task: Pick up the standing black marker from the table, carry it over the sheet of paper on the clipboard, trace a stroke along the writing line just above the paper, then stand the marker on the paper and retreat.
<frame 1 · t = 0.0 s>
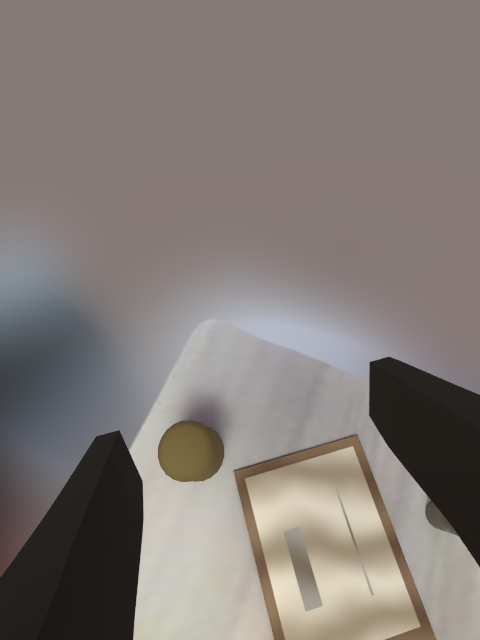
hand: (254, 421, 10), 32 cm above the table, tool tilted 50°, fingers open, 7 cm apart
clipboard: (327, 551, 36), on the table
cork: (198, 452, 39), on the table
marker: (438, 514, 37), on the table
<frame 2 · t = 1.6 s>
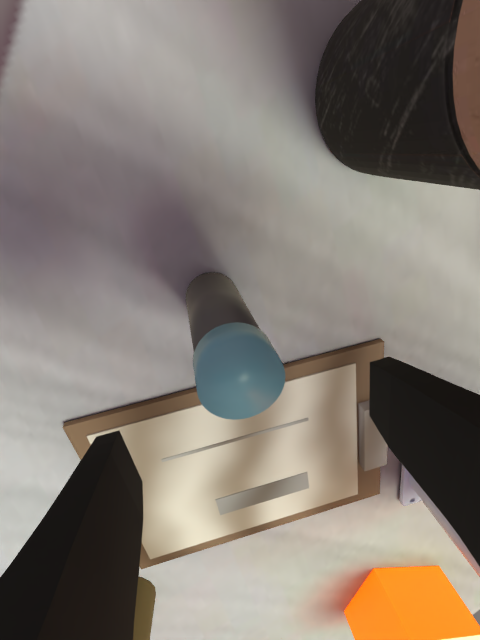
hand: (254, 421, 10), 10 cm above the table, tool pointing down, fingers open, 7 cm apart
clipboard: (249, 462, 24), on the table
cork: (118, 595, 28), on the table
orange juice: (390, 586, 37), on the table
travel mug: (383, 92, 16), on the table
marker: (211, 297, 18), on the table
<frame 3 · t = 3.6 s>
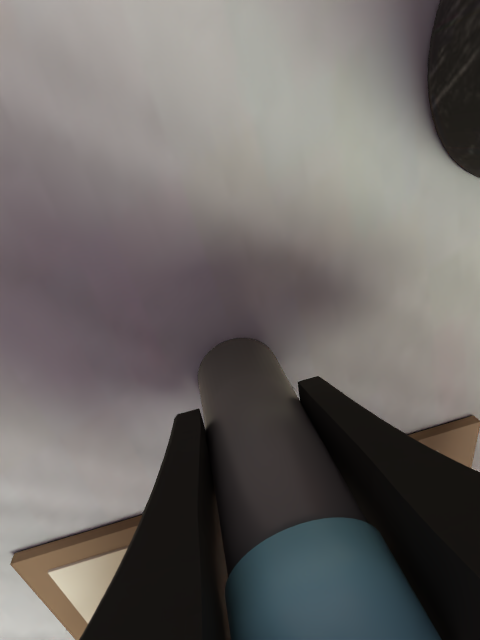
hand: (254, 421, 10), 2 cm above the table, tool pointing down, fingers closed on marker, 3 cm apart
clipboard: (280, 574, 18), on the table
marker: (238, 373, 12), on the table, touching gripper
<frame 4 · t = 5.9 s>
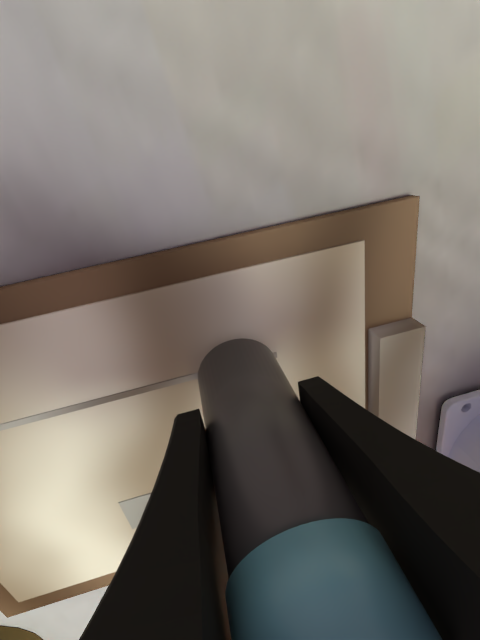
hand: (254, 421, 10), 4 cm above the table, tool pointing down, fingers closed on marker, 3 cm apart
clipboard: (176, 436, 14), on the table
marker: (238, 374, 12), point 1 cm above the table, touching gripper
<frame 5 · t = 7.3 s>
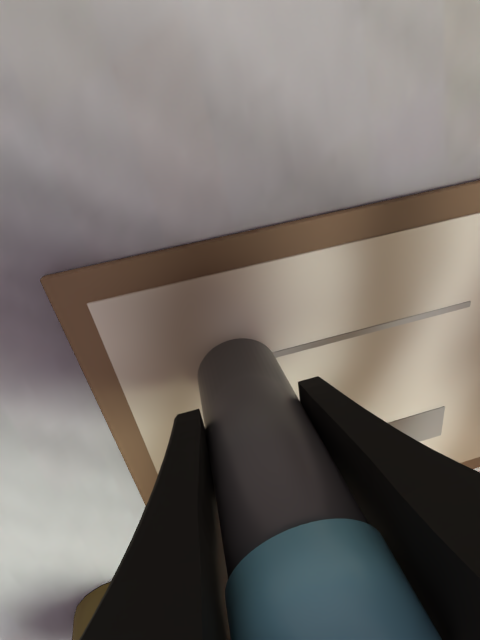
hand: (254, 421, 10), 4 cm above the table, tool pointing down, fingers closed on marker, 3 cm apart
clipboard: (357, 386, 15), on the table
cork: (135, 604, 18), on the table
marker: (238, 374, 12), point 1 cm above the table, touching gripper
when the fingers open (3 cm above the table, at t = 8.4 s): marker stays where it is, resting on clipboard.
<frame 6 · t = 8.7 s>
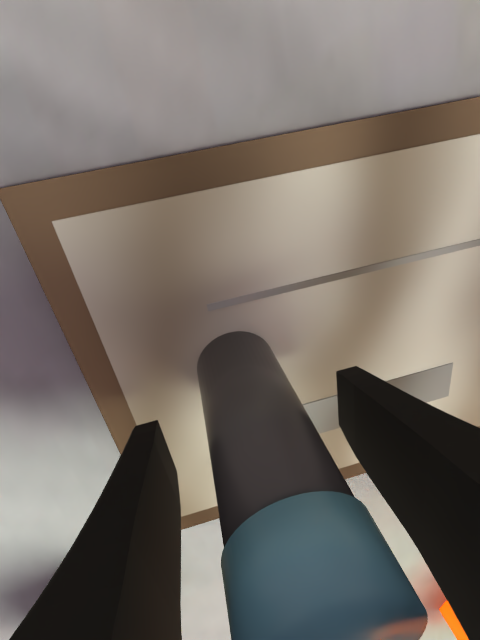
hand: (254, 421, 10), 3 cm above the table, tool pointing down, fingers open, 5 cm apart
clipboard: (357, 337, 13), on the table
marker: (236, 366, 12), point 1 cm above the table, touching clipboard
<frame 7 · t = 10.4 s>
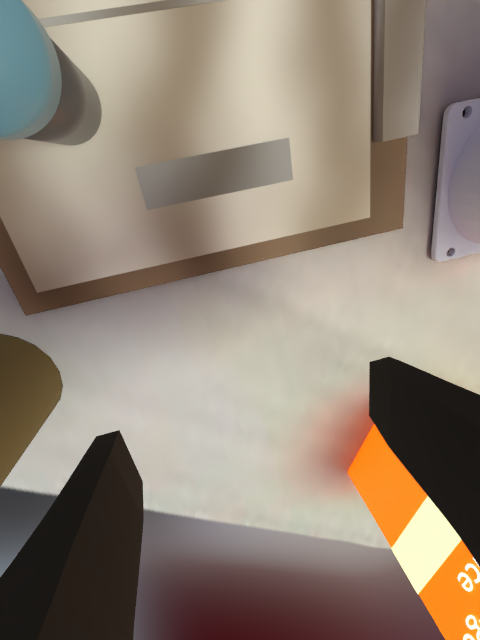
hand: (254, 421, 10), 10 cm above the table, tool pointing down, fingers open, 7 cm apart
clipboard: (190, 100, 14), on the table
cork: (2, 381, 18), on the table
orange juice: (410, 438, 27), on the table
marker: (63, 105, 13), resting on clipboard
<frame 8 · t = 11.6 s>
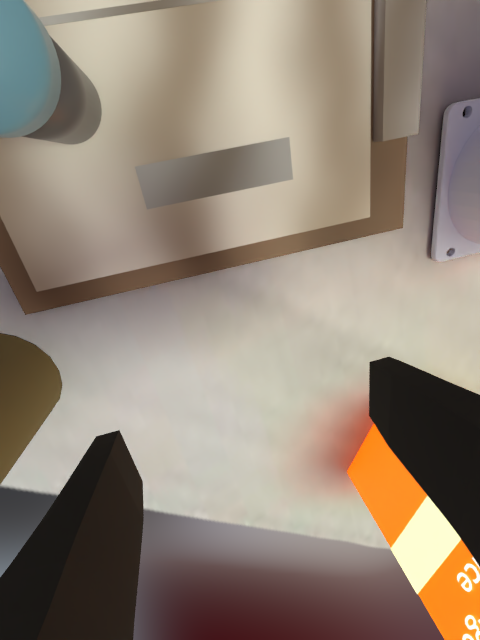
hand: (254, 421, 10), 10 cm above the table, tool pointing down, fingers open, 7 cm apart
clipboard: (190, 99, 14), on the table
cork: (1, 380, 18), on the table
orange juice: (409, 438, 27), on the table
marker: (63, 104, 13), point 1 cm above the table, touching clipboard
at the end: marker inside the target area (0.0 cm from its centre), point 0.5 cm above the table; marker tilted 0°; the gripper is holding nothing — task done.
